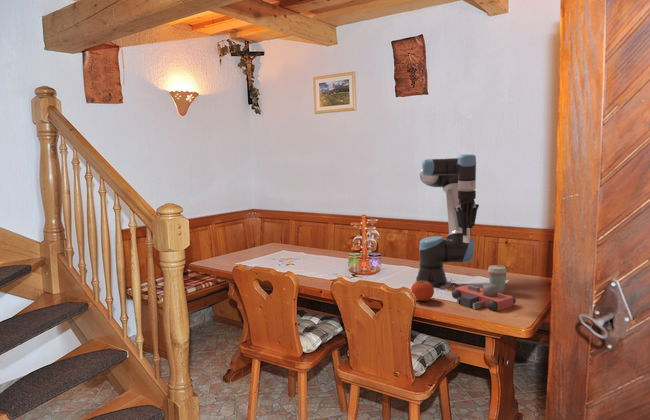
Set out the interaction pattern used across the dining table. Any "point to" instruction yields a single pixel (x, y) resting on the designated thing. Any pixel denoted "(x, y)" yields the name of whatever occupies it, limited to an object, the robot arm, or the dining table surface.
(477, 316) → the dining table surface
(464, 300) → the grey cube
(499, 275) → the coffee cup
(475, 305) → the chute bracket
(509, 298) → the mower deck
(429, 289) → the tomato
